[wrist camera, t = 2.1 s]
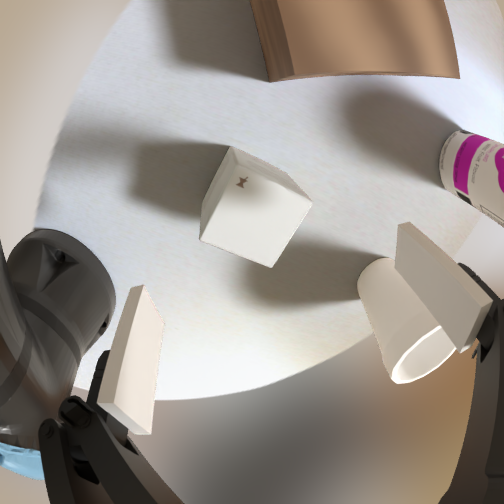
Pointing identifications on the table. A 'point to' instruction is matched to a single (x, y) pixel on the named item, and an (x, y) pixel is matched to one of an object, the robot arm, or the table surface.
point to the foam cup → (401, 323)
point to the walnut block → (355, 38)
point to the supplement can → (475, 172)
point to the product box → (251, 208)
